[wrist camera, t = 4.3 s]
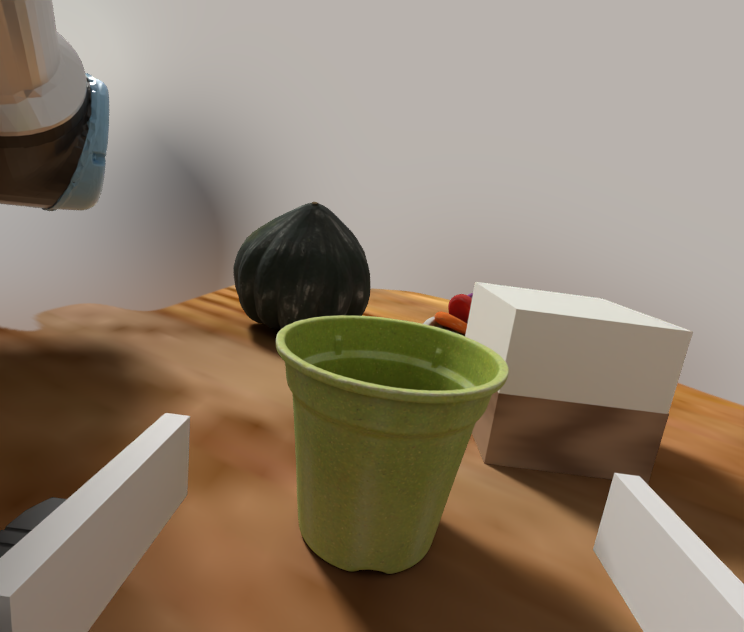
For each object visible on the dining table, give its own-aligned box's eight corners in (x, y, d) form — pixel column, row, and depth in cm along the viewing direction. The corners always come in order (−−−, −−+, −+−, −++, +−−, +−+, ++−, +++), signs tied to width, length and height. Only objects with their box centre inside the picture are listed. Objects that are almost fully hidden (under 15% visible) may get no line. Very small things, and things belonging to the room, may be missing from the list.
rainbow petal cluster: (405, 349, 48) (414, 284, 47) (463, 342, 54) (473, 284, 53) (464, 376, 42) (478, 302, 40) (522, 365, 48) (536, 300, 46)
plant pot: (504, 529, 21) (543, 356, 19) (388, 674, 14) (431, 418, 12) (356, 449, 26) (374, 308, 25) (215, 521, 19) (225, 329, 17)
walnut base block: (483, 468, 27) (498, 391, 26) (456, 400, 37) (467, 343, 35) (646, 489, 27) (669, 413, 26) (576, 416, 37) (590, 359, 35)
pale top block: (498, 393, 25) (516, 308, 24) (463, 343, 35) (475, 282, 34) (667, 414, 26) (692, 331, 25) (586, 359, 35) (601, 298, 34)
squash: (295, 266, 61) (259, 172, 49) (396, 290, 56) (383, 191, 44) (238, 349, 53) (180, 261, 42) (349, 384, 48) (318, 296, 37)
